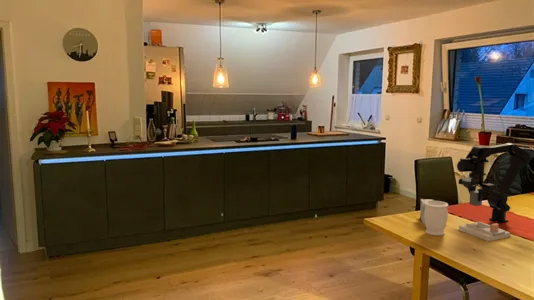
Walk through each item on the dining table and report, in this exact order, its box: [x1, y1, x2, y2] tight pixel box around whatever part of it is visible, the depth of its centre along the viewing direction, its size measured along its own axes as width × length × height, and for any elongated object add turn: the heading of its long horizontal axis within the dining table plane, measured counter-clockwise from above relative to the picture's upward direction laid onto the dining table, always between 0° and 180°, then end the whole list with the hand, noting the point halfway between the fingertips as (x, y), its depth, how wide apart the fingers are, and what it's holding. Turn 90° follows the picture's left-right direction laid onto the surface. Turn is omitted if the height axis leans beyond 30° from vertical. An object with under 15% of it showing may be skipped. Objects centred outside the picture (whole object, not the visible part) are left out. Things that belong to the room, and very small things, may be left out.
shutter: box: [483, 222, 506, 235], centre depth 194 cm, size 6×6×4 cm
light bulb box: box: [419, 198, 435, 225], centre depth 217 cm, size 11×7×11 cm, turn 169°
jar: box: [424, 200, 449, 237], centre depth 199 cm, size 11×10×15 cm
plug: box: [468, 190, 483, 207], centre depth 213 cm, size 4×4×7 cm
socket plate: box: [458, 221, 511, 242], centre depth 199 cm, size 14×17×3 cm
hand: (475, 200), depth 213 cm, fingers closed on plug, 4 cm apart
